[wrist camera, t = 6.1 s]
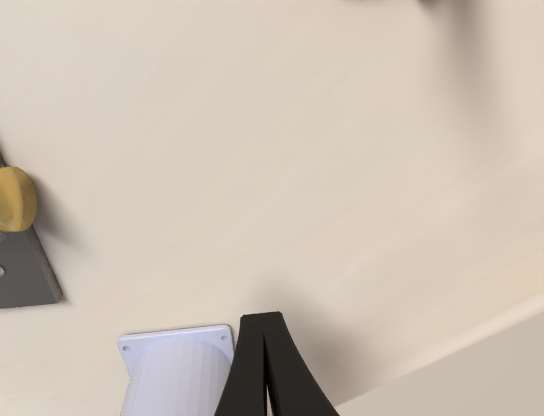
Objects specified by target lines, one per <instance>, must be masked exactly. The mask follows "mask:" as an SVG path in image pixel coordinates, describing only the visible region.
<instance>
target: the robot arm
mask: <svg viewBox="0 0 544 416" xmlns="http://www.w3.org/2000/svg"><path fill="white" fill-rule="evenodd" d="M117 343H118V347H119V350H120V352H121V355H122V357H123V360H124V363H125V365H126V368H127V371H128V373H129V376H130V380H129V384H128V388H127V391H126V395H125V399H124V402H123V406H122V410H121V414H120V416H267V387H268V393H269V398H270V404H271V409H272V414H273V416H339V414H338V413H337V412H336V410H335V409H334V407H333V406H332V405H331V403H330V402H329V400H328V399H327V397H326V396H325V394H324V393H323V392H322V390H321V388H320V387H319V385H318V384H317V382H316V381H315V379H314V378H313V376H312V374H311V373H310V371H309V369H308V368H307V366H306V364H305V362H304V360H303V359H302V357H301V355H300V353H299V351H298V350H297V348H296V346H295V344H294V342H293V340H292V337H291V335H290V333H289V331H288V329H287V326H286V324H285V321H284V318H283V315H282V313H281V312H279V311H278V312H268V313H259V314H249V315H243V316H242V317H241V318H240V330H239V336H238V341H237V345H236V350H235V354H234V350H233V342H232V334H231V328H230V327H229V326H228V325H217V326H208V327H198V328H189V329H179V330H170V331H160V332H151V333H142V334H132V335H124V336H121V337H120V338H119V339H118V342H117ZM126 346H127V347H126Z"/></svg>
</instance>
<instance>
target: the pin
mask: <svg viewBox="0 0 544 416" xmlns="http://www.w3.org/2000/svg"><path fill="white" fill-rule="evenodd" d="M36 212H37V196H36V191H35V188H34V185H33V183H32V181H31V179H30V178H29V176H28V175H27V174H26V173H25V172H24V171H23V170H21V169H20V168H17V167H0V233H6V232H18V231H24V230H26V229H27V228H29V227H30V226H31V224H32V223H33V221H34V219H35V216H36Z"/></svg>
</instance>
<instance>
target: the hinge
mask: <svg viewBox="0 0 544 416" xmlns="http://www.w3.org/2000/svg"><path fill="white" fill-rule="evenodd" d="M0 167H6V166H5V164H4V161H3V159H2V157H1V155H0ZM61 296H62V292H61V289H60V287H59V285H58V283H57V280H56V278H55V276H54V274H53V271H52V269H51V267H50V265H49V263H48V260H47V258H46V256H45V254H44V251H43V249H42V247H41V245H40V242H39V240H38V238H37V236H36V233H35V231H34V229H33V227H32V224H31V226H30V227H29V228H27V229H26V230H24V231H18V232H6V233H0V309H2V308H13V307H23V306H33V305H43V304H54V303H58V301H59V299H60V298H61Z"/></svg>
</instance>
